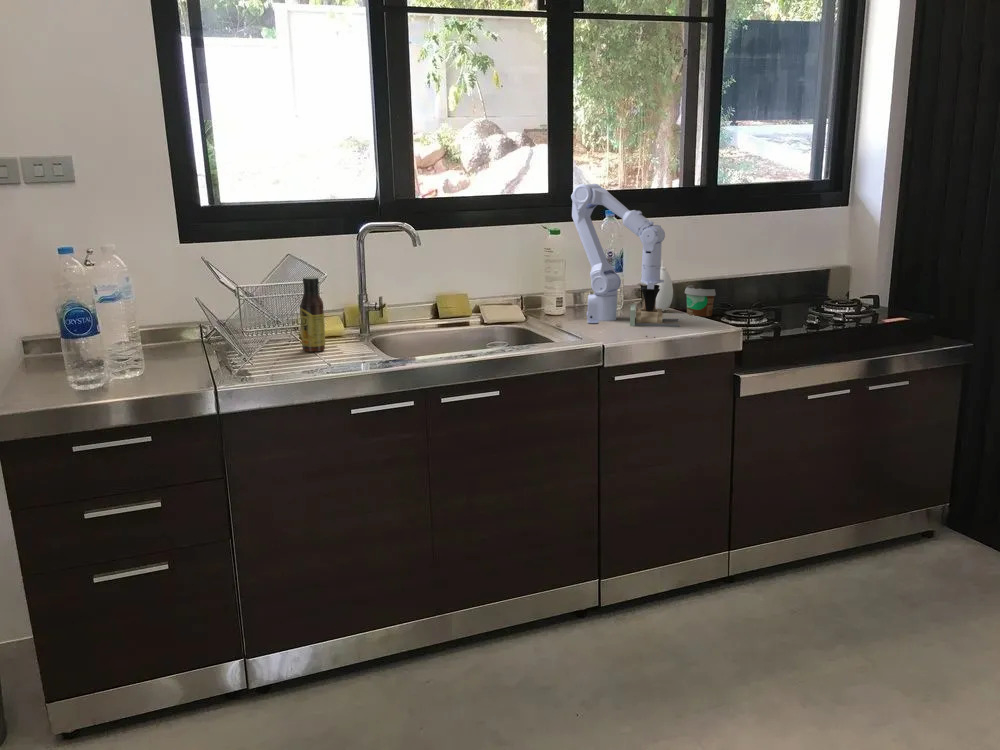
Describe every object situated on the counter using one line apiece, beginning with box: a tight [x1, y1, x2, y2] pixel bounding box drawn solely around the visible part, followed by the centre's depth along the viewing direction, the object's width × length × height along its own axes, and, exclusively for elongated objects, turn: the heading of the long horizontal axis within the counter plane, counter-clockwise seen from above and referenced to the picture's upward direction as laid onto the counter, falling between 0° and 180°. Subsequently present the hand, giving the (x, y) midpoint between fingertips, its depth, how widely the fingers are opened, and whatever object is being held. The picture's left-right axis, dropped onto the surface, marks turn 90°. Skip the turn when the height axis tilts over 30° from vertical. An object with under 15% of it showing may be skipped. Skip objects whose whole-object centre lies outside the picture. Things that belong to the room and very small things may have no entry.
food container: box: [684, 284, 717, 317], centre depth 274 cm, size 12×6×10 cm, turn 25°
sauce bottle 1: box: [299, 276, 326, 353], centre depth 222 cm, size 6×6×20 cm
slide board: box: [629, 303, 680, 328], centre depth 258 cm, size 15×12×6 cm
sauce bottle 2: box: [655, 259, 674, 310], centre depth 284 cm, size 8×8×18 cm
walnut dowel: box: [643, 299, 656, 312], centre depth 258 cm, size 4×4×7 cm
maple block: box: [635, 307, 664, 324], centre depth 258 cm, size 8×8×4 cm
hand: (649, 309), depth 258 cm, fingers open, 4 cm apart
